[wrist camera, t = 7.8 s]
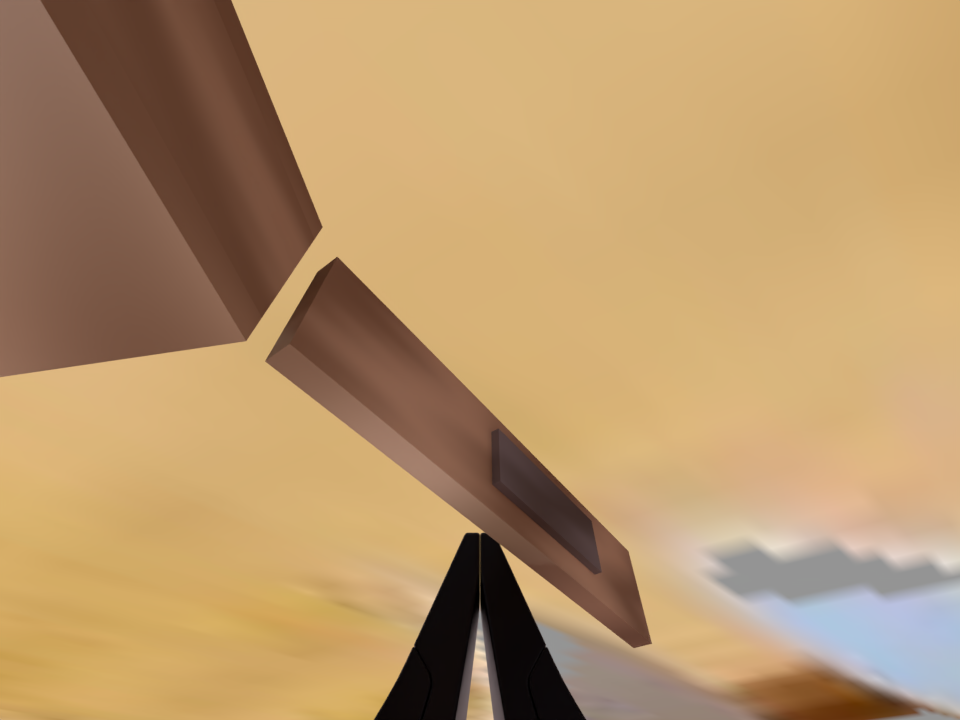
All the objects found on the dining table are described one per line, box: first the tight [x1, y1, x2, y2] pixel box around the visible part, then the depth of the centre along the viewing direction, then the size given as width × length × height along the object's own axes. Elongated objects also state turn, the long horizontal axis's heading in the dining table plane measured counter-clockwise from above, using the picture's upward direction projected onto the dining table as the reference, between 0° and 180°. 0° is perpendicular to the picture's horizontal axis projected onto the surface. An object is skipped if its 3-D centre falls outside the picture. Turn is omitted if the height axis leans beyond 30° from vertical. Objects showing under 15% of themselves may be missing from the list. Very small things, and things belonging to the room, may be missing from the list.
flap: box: [265, 257, 652, 648], centre depth 12 cm, size 14×1×3 cm, turn 36°
